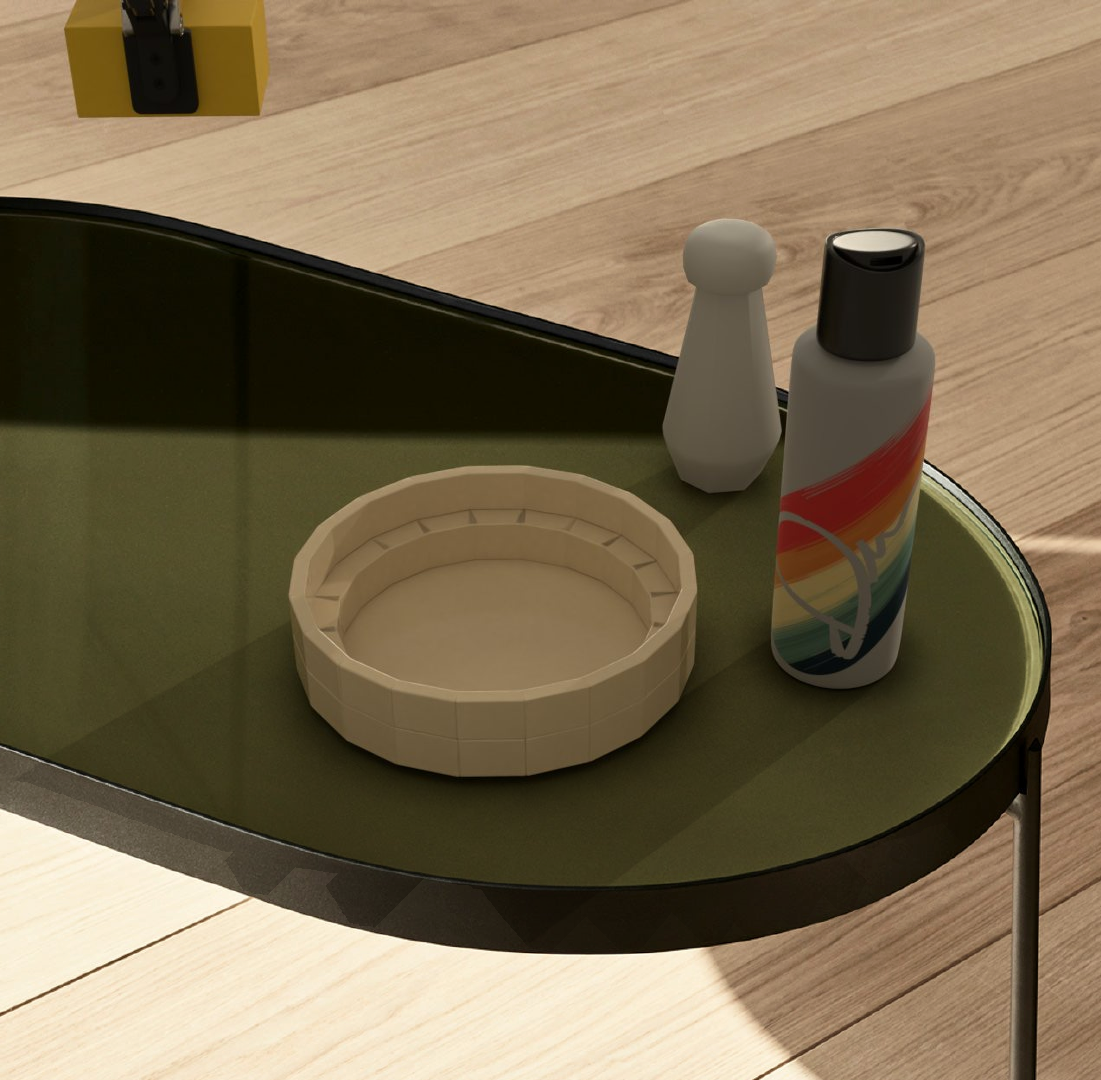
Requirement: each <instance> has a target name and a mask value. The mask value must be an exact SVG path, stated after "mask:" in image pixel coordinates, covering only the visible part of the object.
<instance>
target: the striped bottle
mask: <svg viewBox="0 0 1101 1080" xmlns="http://www.w3.org/2000/svg"><path fill="white" fill-rule="evenodd" d="M823 246H824V247H823V256H822V267H821V277H820V285H819V286H820V287H819V295H818V296H819V297H818V308H817V317H816V324H814V325H812V326H810V327H809V328H807V329H806V330H804V331H803V332H802V333H800V335H799V336H798V337H797V339H796V340H795V342H794V345H793V347H792V353H791V360H790V361H791V362H790V369H789V370H790V371H789V383H788V397H787V409H786V422H785V423H786V424H785V434H784V435H785V436H784V450H783V461H782V463H783V464H782V474H781V475H782V476H781V491H780V500H779V501H780V502H779V516H778V529H777V542H776V555H775V568H774V569H775V570H774V581H773V582H774V583H773V594H772V595H773V597H772V610H771V627H770V629H771V631H770V642H771V643H770V645H771V651H772V655H773V657H774V659H775V661H776V662H777V664H778V665H779V666H780V668H781V669H783V670H784V672H786V673H787V674H788V675H790V676H791V677H792V678H794V679H796V680H798V681H800V682H803V683H806V684H809V685H811V686H816V687H820V688H826V689H838V690H839V689H841V690H842V689H843V690H844V689H845V690H847V689H853V688H860V687H863V686H866V685H870V684H872V683H875V682H876V681H879V680H880V679H881V678H883V677H884V676H886V675H887V674H888V673H889V672H890V671H891V670H892V668H893V667H894V665H895V663H896V661H897V658H898V655H899V649H900V647H901V646H900V644H901V639H902V634H903V633H902V632H903V626H904V619H905V610H906V602H907V595H908V587H909V579H910V571H911V563H912V556H913V547H914V541H915V540H914V539H915V532H916V524H917V516H918V508H919V500H920V493H921V492H920V491H921V485H922V478H923V477H922V476H923V471H924V470H923V468H924V462H925V453H926V446H927V438H928V437H927V436H928V429H929V422H930V416H931V415H930V414H931V406H932V398H933V389H934V381H935V373H936V354H935V350H934V347H933V346H932V344H931V343H930V341H929V340H928V339H927V338H926V337H925V336H924V335H922V333H920V332H918V321H919V312H920V304H921V303H920V302H921V293H922V284H923V283H922V282H923V274H924V264H925V256H926V243H925V240H924V238H923V237H922V236H921V235H920V234H919V233H917V232H916V231H914V230H910V229H906V228H900V227H868V228H867V227H866V228H856V229H847V230H842V231H836V232H833V233H830V234H829V235H827V237H826V238H825V240H824V245H823Z"/></svg>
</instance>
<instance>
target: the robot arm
mask: <svg viewBox="0 0 1101 1080" xmlns="http://www.w3.org/2000/svg"><path fill="white" fill-rule="evenodd" d="M121 14H122V26H123V32H122V36H123V43H124V50H125V58H126V65H127V72H128V79H129V86H130V94H131V101H132V107H133V110H134V111H135V112H136V113H138V114H193V113H195V112H196V111H197V109H198V106H199V97H198V88H197V80H196V71H195V63H194V54H193V46H192V37H191V29H184V23H183V8H182V0H168V5H167V2H166V0H121Z"/></svg>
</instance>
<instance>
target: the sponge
mask: <svg viewBox="0 0 1101 1080" xmlns="http://www.w3.org/2000/svg"><path fill="white" fill-rule="evenodd" d="M166 2H167V5H168V0H166ZM182 8H183V23H184V29H191V37H192V46H193V54H194V63H195V71H196V80H197V88H198V97H199V106H198V109H197V111H196V112H195V113H193V114H138V113H136V112H135V111H134V110H133V107H132V101H131V94H130V86H129V79H128V72H127V65H126V58H125V50H124V43H123V36H122V32H123V26H122V14H121V0H75V3H74V5H73V7H72V10H71V12H70V14H69V16H68V18H67V20H66V22H65V25H64V27H63V31H64V32H63V33H64V39H65V45H66V50H67V52H66V53H67V57H68V65H69V71H70V76H71V77H70V78H71V84H72V89H73V90H72V91H73V95H74V101H75V102H74V103H75V108H76V115H77V118H79V119H91V118H92V119H94V118H95V119H98V118H99V119H101V118H103V119H104V118H170V117H171V118H178V117H179V118H185V117H186V118H187V117H193V118H194V117H259V116H261V113H262V108H263V104H264V98H265V94H266V90H267V85H268V80H269V75H270V70H271V67H270V55H269V44H268V34H267V33H268V32H267V23H266V14H265V12H266V11H265V2H264V0H182Z"/></svg>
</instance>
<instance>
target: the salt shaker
mask: <svg viewBox="0 0 1101 1080" xmlns="http://www.w3.org/2000/svg"><path fill="white" fill-rule="evenodd" d="M777 255H778V254H777V246H776V242H775V240H774V238H773V236H772V234H771V233H769V232H768V231H767V230H766V229H765V228H763V226H760V225H759V224H757V223H755V222H752V221H749V220H744V219H740V218H718V219H712V220H708V221H706V222H704V223H702V224H700V225H698V226H696V227H695V228H694V229H692V230H691V231H690V233H689V234H688V236H687V238H686V239H685V242H684V247H683V251H682V267H683V271H684V274H685V277H686V279H687V283H689V284H691V285H692V286H694V294H693V297H692V304H691V307H690V312H689V315H688V320H687V324H686V327H685V332H684V336H683V341H682V344H681V348H680V353H679V357H678V360H677V364H676V369H675V373H674V377H673V381H672V384H671V389H670V394H669V398H668V401H667V407H666V410H665V415H664V417H663V418H664V419H663V422H662V434H663V439H664V442H665V445H666V448H667V450H668V453H669V456H670V458H671V460H672V463H673V465H674V467H675V470H676V472H677V475H678V477H679V479H680V480H681V481H683V482H685V483H687V484H689V485H691V486H693V487H695V488H697V489H699V490H701V491H703V492H705V493H707V494H714V493H715V494H716V493H727V492H740V491H745V490H747V488H748V487H749V486H750V485H751V484H752V483H753V482H754V481H755V480H756V479H757V478H758V477H759V476H760V474H761V473H762V472H763V470H764V468H765V466H766V465H767V463H768V462H769V459H770V458H771V457H772V455H773V454H774V452H775V450H776V448H777V446H778V443H779V442H780V439H781V435H782V431H783V430H782V423H781V416H780V409H779V401H778V394H777V387H776V379H775V371H774V366H773V364H774V363H773V358H772V350H771V342H770V336H769V329H768V321H767V314H766V306H765V300H764V299H765V298H764V291H763V288H764V287H766V286H767V285H768V284H769V282H770V280H771V279H772V277H773V275H774V273H775V270H776V266H777V260H778V259H777V258H778V256H777Z"/></svg>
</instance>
